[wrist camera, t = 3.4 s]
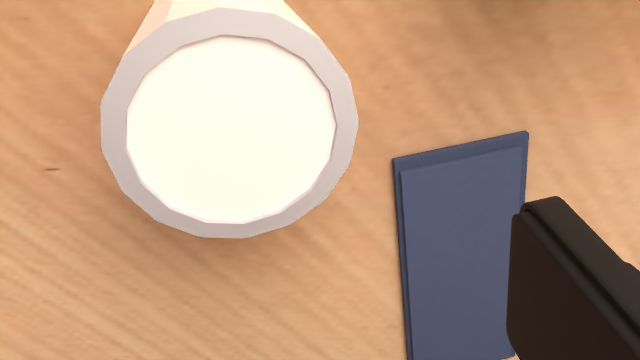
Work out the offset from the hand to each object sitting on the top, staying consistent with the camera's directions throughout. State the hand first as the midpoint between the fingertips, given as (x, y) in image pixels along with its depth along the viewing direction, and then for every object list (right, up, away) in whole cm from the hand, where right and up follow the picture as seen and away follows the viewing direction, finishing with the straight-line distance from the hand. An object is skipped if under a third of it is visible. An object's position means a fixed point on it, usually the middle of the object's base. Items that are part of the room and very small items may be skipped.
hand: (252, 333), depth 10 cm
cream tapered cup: (-2, +7, +12) cm, 14 cm away
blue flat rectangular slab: (+8, -2, +20) cm, 21 cm away
